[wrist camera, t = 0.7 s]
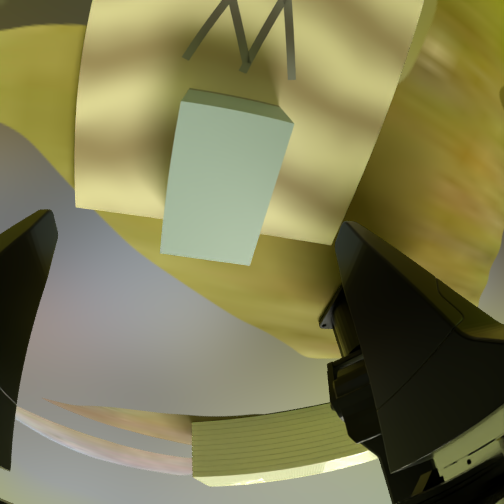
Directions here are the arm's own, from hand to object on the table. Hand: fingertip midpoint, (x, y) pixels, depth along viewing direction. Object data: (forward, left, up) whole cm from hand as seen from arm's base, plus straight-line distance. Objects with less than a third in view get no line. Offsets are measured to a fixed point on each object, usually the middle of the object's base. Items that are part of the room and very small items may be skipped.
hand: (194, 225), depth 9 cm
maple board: (+4, -1, -13) cm, 14 cm away
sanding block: (-2, -1, -12) cm, 12 cm away
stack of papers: (-47, -21, -14) cm, 54 cm away
